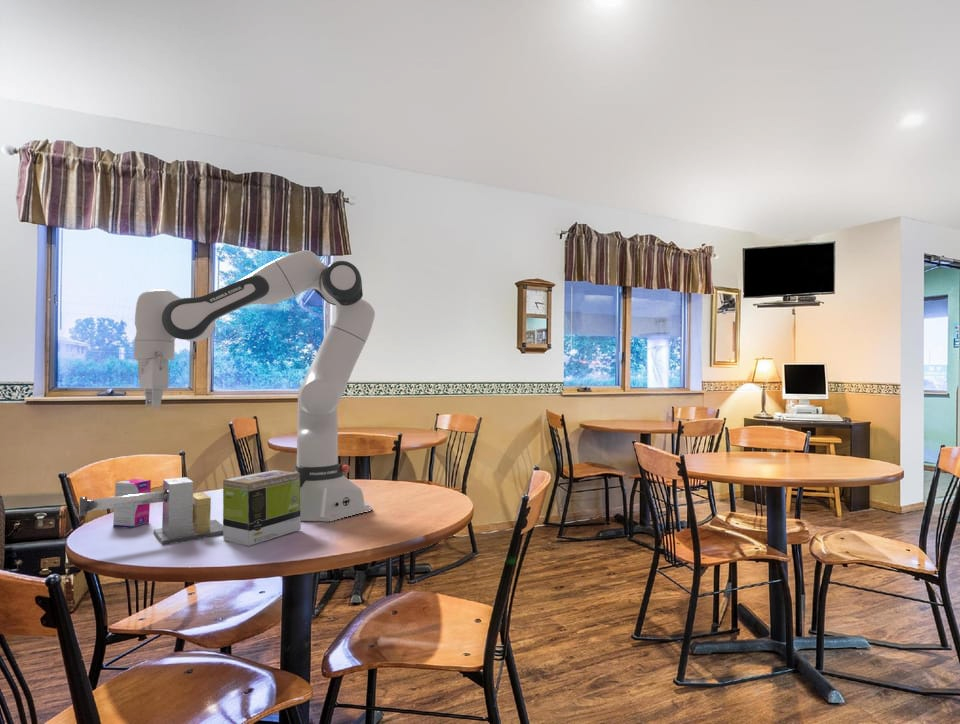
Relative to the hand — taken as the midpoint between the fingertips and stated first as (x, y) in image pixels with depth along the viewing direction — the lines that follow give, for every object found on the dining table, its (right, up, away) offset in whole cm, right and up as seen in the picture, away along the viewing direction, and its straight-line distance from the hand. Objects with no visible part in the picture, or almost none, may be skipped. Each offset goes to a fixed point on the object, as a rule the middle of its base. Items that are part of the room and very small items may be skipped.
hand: (153, 406), depth 133 cm
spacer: (+14, -30, -4) cm, 33 cm away
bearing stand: (+13, -31, -5) cm, 34 cm away
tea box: (+31, -31, -6) cm, 44 cm away
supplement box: (-7, -32, +3) cm, 32 cm away
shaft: (+3, -23, -13) cm, 26 cm away
